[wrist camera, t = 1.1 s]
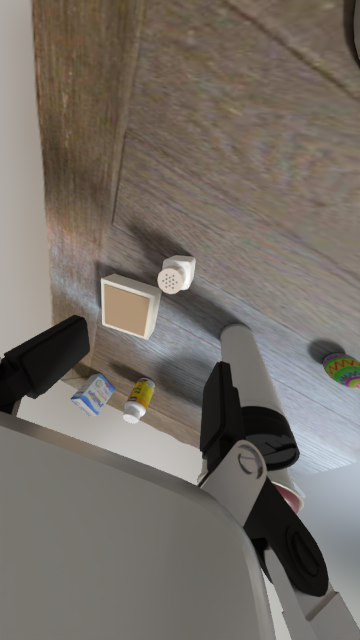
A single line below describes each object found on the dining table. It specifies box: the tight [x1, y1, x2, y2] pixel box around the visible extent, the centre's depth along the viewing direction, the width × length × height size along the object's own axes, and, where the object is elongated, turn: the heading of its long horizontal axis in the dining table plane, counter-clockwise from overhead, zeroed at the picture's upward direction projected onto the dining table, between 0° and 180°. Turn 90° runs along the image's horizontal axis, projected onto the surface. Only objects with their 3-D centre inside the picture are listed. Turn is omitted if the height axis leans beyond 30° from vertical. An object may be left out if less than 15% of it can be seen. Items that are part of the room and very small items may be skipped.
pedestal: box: [101, 274, 162, 340], centre depth 30 cm, size 10×10×4 cm
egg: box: [323, 353, 360, 388], centre depth 26 cm, size 5×5×6 cm
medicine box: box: [71, 373, 115, 416], centre depth 45 cm, size 8×4×9 cm, turn 26°
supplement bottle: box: [123, 378, 155, 424], centre depth 40 cm, size 6×6×10 cm
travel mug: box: [220, 323, 300, 472], centre depth 22 cm, size 6×7×20 cm
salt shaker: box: [157, 255, 195, 294], centre depth 22 cm, size 4×4×10 cm
